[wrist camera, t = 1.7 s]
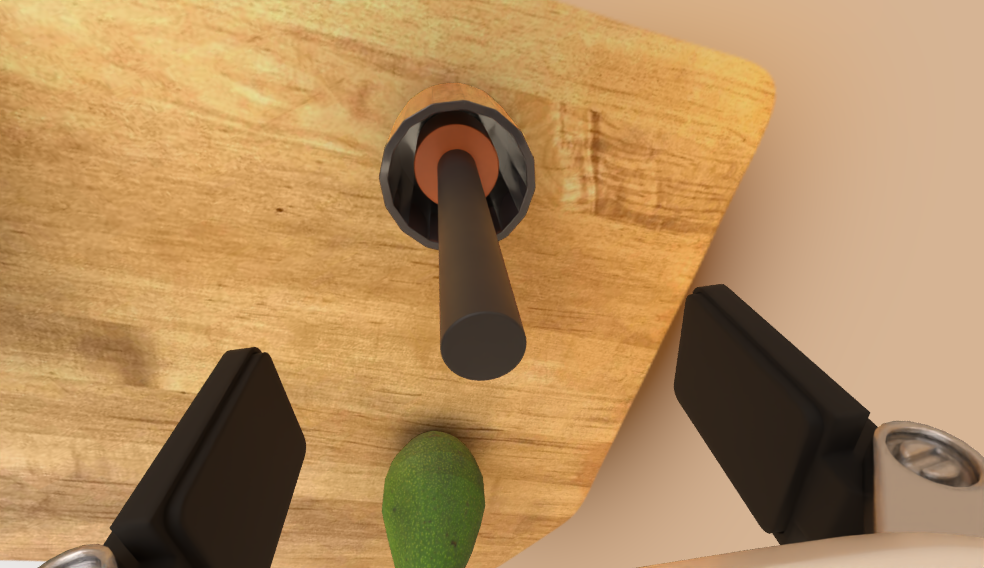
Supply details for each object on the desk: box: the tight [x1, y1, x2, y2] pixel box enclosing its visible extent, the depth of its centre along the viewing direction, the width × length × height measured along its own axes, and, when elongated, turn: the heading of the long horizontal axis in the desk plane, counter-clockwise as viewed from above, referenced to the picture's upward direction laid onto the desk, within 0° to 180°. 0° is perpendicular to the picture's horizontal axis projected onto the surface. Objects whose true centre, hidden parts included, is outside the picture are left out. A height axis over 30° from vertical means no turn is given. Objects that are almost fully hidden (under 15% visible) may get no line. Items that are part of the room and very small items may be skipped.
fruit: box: [382, 431, 485, 568], centre depth 34 cm, size 8×8×12 cm
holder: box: [379, 83, 535, 250], centre depth 24 cm, size 7×7×7 cm
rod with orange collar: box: [414, 111, 526, 381], centre depth 19 cm, size 4×4×19 cm
